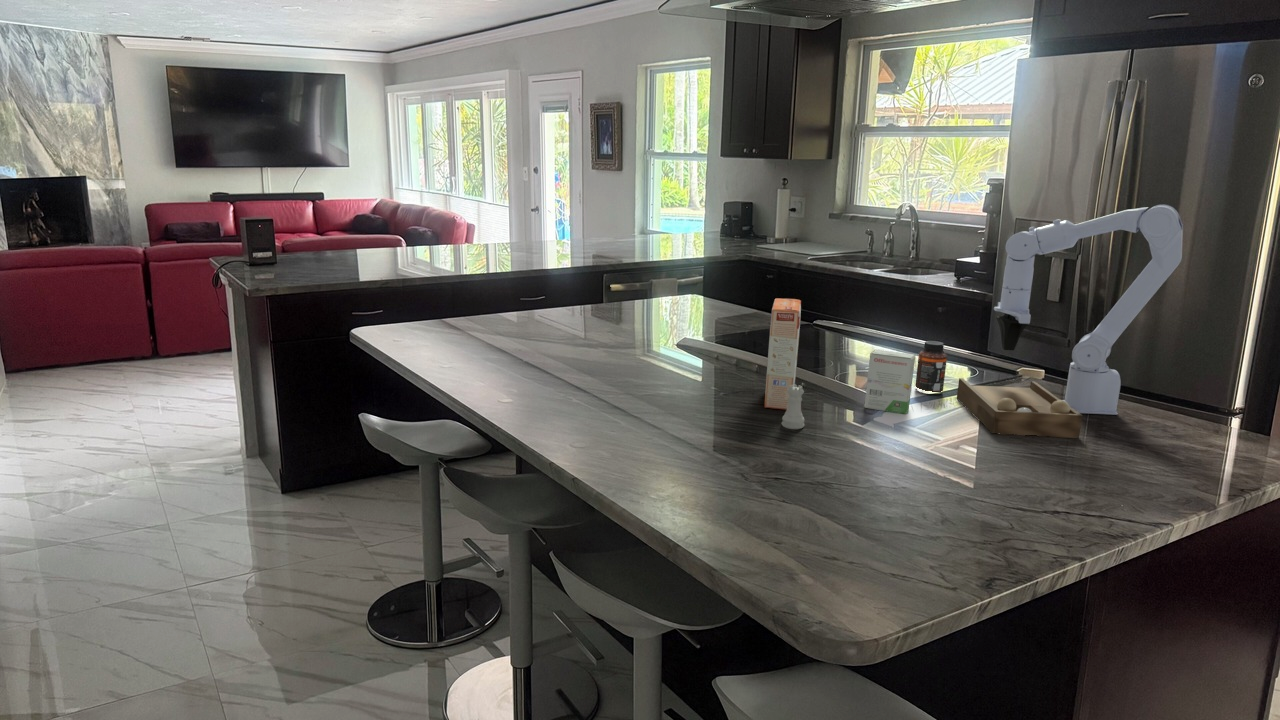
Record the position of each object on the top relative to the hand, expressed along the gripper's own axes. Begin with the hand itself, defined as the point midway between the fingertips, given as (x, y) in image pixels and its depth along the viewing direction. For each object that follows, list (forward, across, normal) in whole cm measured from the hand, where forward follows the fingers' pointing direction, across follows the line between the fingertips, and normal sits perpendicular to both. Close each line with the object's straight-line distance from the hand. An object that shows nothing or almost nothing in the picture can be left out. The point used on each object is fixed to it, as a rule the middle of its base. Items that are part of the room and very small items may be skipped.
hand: (1008, 349), depth 187 cm
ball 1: (+6, +25, -8) cm, 27 cm away
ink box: (+11, +14, -28) cm, 33 cm away
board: (+10, +16, -3) cm, 19 cm away
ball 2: (+6, +25, +2) cm, 26 cm away
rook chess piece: (+11, +29, -49) cm, 58 cm away
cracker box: (+11, +12, -50) cm, 53 cm away
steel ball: (+9, +21, -3) cm, 23 cm away
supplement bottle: (+11, 0, -16) cm, 19 cm away
